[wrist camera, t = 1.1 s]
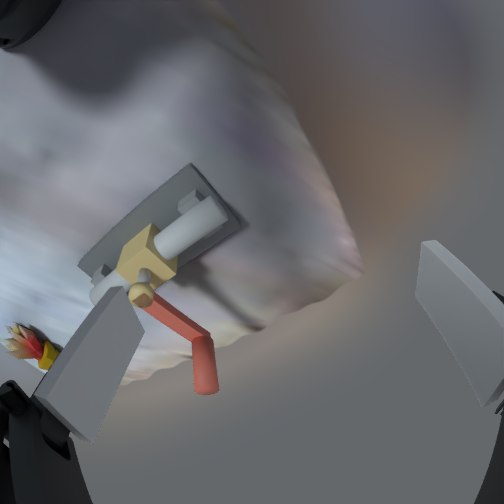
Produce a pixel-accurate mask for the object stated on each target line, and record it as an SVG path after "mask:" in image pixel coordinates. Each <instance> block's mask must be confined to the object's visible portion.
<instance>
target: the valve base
mask: <svg viewBox="0 0 504 504" xmlns="http://www.w3.org/2000/svg"><path fill="white" fill-rule="evenodd" d="M240 227H241V224H240V221H239V220H238V219H237V217H236V216H235V215H234V214H233V213H232V211H231V210H230V209H229V208H228V207H227V205H226V204H225V203H224V202H223V200H222V199H221V198H220V197H219V196H218V194H217V193H216V192H215V191H214V190H213V188H212V187H211V186H210V185H209V184H208V182H207V181H206V180H205V179H204V178H203V176H202V175H201V174H200V173H199V172H198V170H197V169H196V168H195V167H194V166H193V164H192V163H190V164H188V165H187V166H186V167H184V168H183V169H182V170H181V171H179V172H178V173H177V174H175V175H174V176H173V177H172V178H170V179H169V180H168V181H167V182H165V183H164V184H163V185H162V186H160V187H159V188H158V189H157V190H156V191H154V192H153V193H152V194H151V195H150V196H148V197H147V198H146V199H145V200H144V201H142V202H141V203H140V204H139V205H138V206H137V207H136V208H134V209H133V210H132V211H131V212H130V213H129V214H128V215H127V216H125V217H124V218H123V219H122V220H121V221H120V222H119V223H118V224H117V225H116V226H115V227H113V228H112V229H111V230H110V231H109V232H108V233H107V234H106V235H105V236H104V237H103V238H102V239H101V240H100V241H99V242H98V243H97V244H96V245H95V246H94V247H93V248H92V249H91V250H90V251H89V252H88V253H87V254H86V255H85V256H84V257H83V258H82V259H81V260H80V261H79V264H78V267H79V268H80V269H82V270H83V271H84V272H85V273H86V274H88V275H89V276H90V277H91V278H92V280H91V283H92V284H94V285H95V287H94V288H93V289H91V291H90V300H91V302H92V303H93V305H94V306H96V304H97V303H98V302H99V300H100V299H101V298H102V297H103V295H104V294H105V293H106V292H107V291H108V289H109V288H110V287H115V286H123V287H124V289H125V291H126V294H127V296H129V291H130V287H131V285H132V284H134V283H136V282H144V283H147V284H149V285H150V286H151V287H152V288H153V290H154V289H156V288H157V287H159V286H160V285H162V284H163V283H164V282H166V281H167V280H169V279H170V278H172V277H173V276H175V275H176V274H177V270H178V269H179V268H180V267H182V266H183V265H185V264H186V263H188V262H189V261H191V260H192V259H194V258H195V257H197V256H198V255H200V254H201V253H203V252H204V251H206V250H207V249H208V248H210V247H211V246H213V245H214V244H216V243H217V242H219V241H220V240H222V239H223V238H225V237H226V236H228V235H229V234H231V233H233V232H234V231H236V230H237V229H239V228H240Z"/></svg>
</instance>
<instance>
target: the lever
mask: <svg viewBox="0 0 504 504" xmlns="http://www.w3.org/2000/svg"><path fill="white" fill-rule="evenodd" d="M128 298H129V300H130V302H131V304H132V305H134V306H136V307H139V308H142V309H143V310H144V311H146V312H147V313H149V314H150V315H151V316H153V317H154V318H156V319H157V320H159V321H160V322H162V323H163V324H164V325H166V326H167V327H169V328H170V329H172V330H173V331H175V332H176V333H178V334H180V335H181V336H183V337H184V338H186V339H187V340H189V341H190V342H192V357H193V374H194V388H195V392H196V393H198V394H201V395H210V394H214V393H217V392H218V391H219V385H218V377H217V369H216V361H215V352H214V343H213V339H212V338H211V336H210V332H208V331H207V330H205V329H204V328H202V327H201V326H200V325H198V324H197V323H195V322H194V321H192V320H191V319H190V318H188V317H187V316H186V315H184V314H183V313H181V312H180V311H179V310H177V309H176V308H175V307H173V306H172V305H171V304H169V303H168V302H167V301H165V300H164V299H163V298H162V297H160V296H159V295H158V294H156V293H155V292H154V290H153V288H152V287H151V286H150V285H149V284H147V283H144V282H136V283H134V284H132V285H131V287H130V291H129V296H128Z"/></svg>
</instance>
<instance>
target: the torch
mask: <svg viewBox="0 0 504 504" xmlns="http://www.w3.org/2000/svg"><path fill="white" fill-rule="evenodd" d="M6 328H7V330H8V332H9V333H10V334H12V336H13V338H9V339H4V340H5V341H6V342H8V343H9V345H5V346H6V347H8V348H9V349H11V350H12V351H9V352H7V353H8V354H10V355H12V356H14V357H16V358H18V359H32V358H35V359H37V360H38V364H39V368H41V369H45V370H48V369H49V368H50V366H51V365H53V362H54V360H55V359H56V357H57V356H58V354H59V353H60V352H59V351H58V350H57V349H56V348H55V349H54V346H53V345H52V344H51V343H50V342H49V341H48V340H46V341H45V342H44V343H43V344H41V342H40V341H39V340H38V339H37V337H36V336H35V334H34V332H33V331H30V330H28V329H26V328H24V327H22V326H20V325H18V324H16V323H15V322H14V326H13V328H11V327H7V326H6Z"/></svg>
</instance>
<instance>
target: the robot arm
mask: <svg viewBox="0 0 504 504" xmlns="http://www.w3.org/2000/svg"><path fill="white" fill-rule="evenodd" d="M60 2H61V0H0V48H11V47H14V46H17V45H19V44H21V43H23V42H25V41H26V40H28V39H29V38H31V37H32V36H33V35H34V34H35V33H37V32H38V31H39V30H40V29H41V28H42V27H43V26H44V24H45V23H46V22H47V21H48V20H49V18H50V17H51V16H52V14H53V13H54V12H55V10H56V9H57V7H58V5H59V4H60ZM415 297H416V298H417V300H418V301H419V303H420V304H421V305H422V307H423V308H424V310H425V311H426V313H427V314H428V316H429V317H430V319H431V320H432V322H433V323H434V325H435V326H436V328H437V329H438V331H439V332H440V334H441V335H442V337H443V339H444V340H445V342H446V343H447V345H448V346H449V348H450V350H451V352H452V353H453V355H454V357H455V358H456V360H457V362H458V363H459V365H460V367H461V369H462V370H463V372H464V374H465V376H466V378H467V380H468V381H469V383H470V385H471V387H472V389H473V391H474V393H475V395H476V397H477V399H478V401H479V403H480V405H481V407H482V408H483V407H485V406H487V405H489V404H490V403H492V402H494V401H495V400H497V399H498V398H499V396H500V395H501V394H502V392H503V391H504V297H503V296H501V295H500V294H498V293H496V292H495V291H490V290H489V288H488V287H487V286H486V285H485V284H483V282H482V281H481V280H480V279H478V277H477V276H475V275H474V274H473V273H472V272H471V271H470V270H469V269H468V268H467V267H466V266H465V265H464V264H463V263H462V262H460V261H459V260H458V259H457V258H456V257H455V256H453V254H451V253H450V252H449V251H448V250H447V249H446V248H445V247H443V246H442V245H441V244H440V243H439V242H437V241H436V240H431V241H425V242H422V243H421V254H420V263H419V271H418V279H417V285H416V292H415ZM144 333H145V331H144V329H143V327H142V325H141V323H140V321H139V319H138V317H137V315H136V313H135V311H134V309H133V307H132V304H131V302H130V300H129V298H128V296H127V294H126V291H125V289H124V287H123V286H115V287H110V288H109V289H108V291H107V292H106V293H105V294H104V295H103V297H102V298H101V299H100V300H99V302H98V303H97V304H96V306H95V307H94V308H93V309H92V311H91V312H90V313H89V315H88V316H87V317H86V319H85V320H84V321H83V323H82V324H81V325H80V327H79V328H78V329H77V331H76V332H75V333H74V335H73V336H72V337H71V339H70V340H69V342H68V343H67V344H66V346H65V347H64V349H63V350H62V352H60V353H59V354H58V356H57V357H56V359H55V360H54V362H53V365H51V366H50V368H49V369H48V372H46V374H45V375H44V377H43V378H42V380H41V382H40V383H39V385H38V386H37V388H36V390H35V391H34V393H33V394H32V396H31V397H30V398H29V397H28V396H27V395H26V394H25V393H24V391H23V390H22V389H21V388H20V387H19V386H18V385H17V383H16V382H15V381H13V380H9V381H7V382H5V383H4V384H2V385H1V387H0V504H93V503H92V501H91V498H90V495H89V493H88V490H87V487H86V484H85V481H84V478H83V475H82V472H81V469H80V465H79V462H78V458H77V455H76V451H75V447H74V443H73V441H72V439H71V438H70V437H69V433H70V431H71V432H72V433H73V434H74V435H75V436H77V437H78V438H79V439H80V440H83V441H86V442H89V443H92V444H94V442H95V440H96V437H97V435H98V432H99V430H100V428H101V425H102V423H103V420H104V418H105V416H106V413H107V411H108V409H109V406H110V404H111V402H112V400H113V397H114V395H115V393H116V391H117V389H118V386H119V384H120V382H121V380H122V378H123V376H124V374H125V371H126V369H127V367H128V365H129V363H130V361H131V359H132V357H133V355H134V353H135V351H136V349H137V347H138V345H139V343H140V341H141V339H142V337H143V335H144ZM503 406H504V400H503V401H502V402H501V404H500V405H499V406H498V408H497V409H496V412H495V414H497V413H498V412H499V411H500V410H501V409H502V407H503ZM501 415H502V418H501V423H500V428H499V432H498V436H497V440H496V444H495V447H494V451H493V454H492V458H491V461H490V464H489V467H488V470H487V473H486V476H485V479H484V481H483V484H482V486H481V489H480V491H479V494H478V496H477V498H476V501H475V503H474V504H504V407H503V411H502V412H501ZM4 438H5V439H7V440H8V441H9V448H8V447H7V446H6V445H5V444H4V443H3V441H4Z"/></svg>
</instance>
